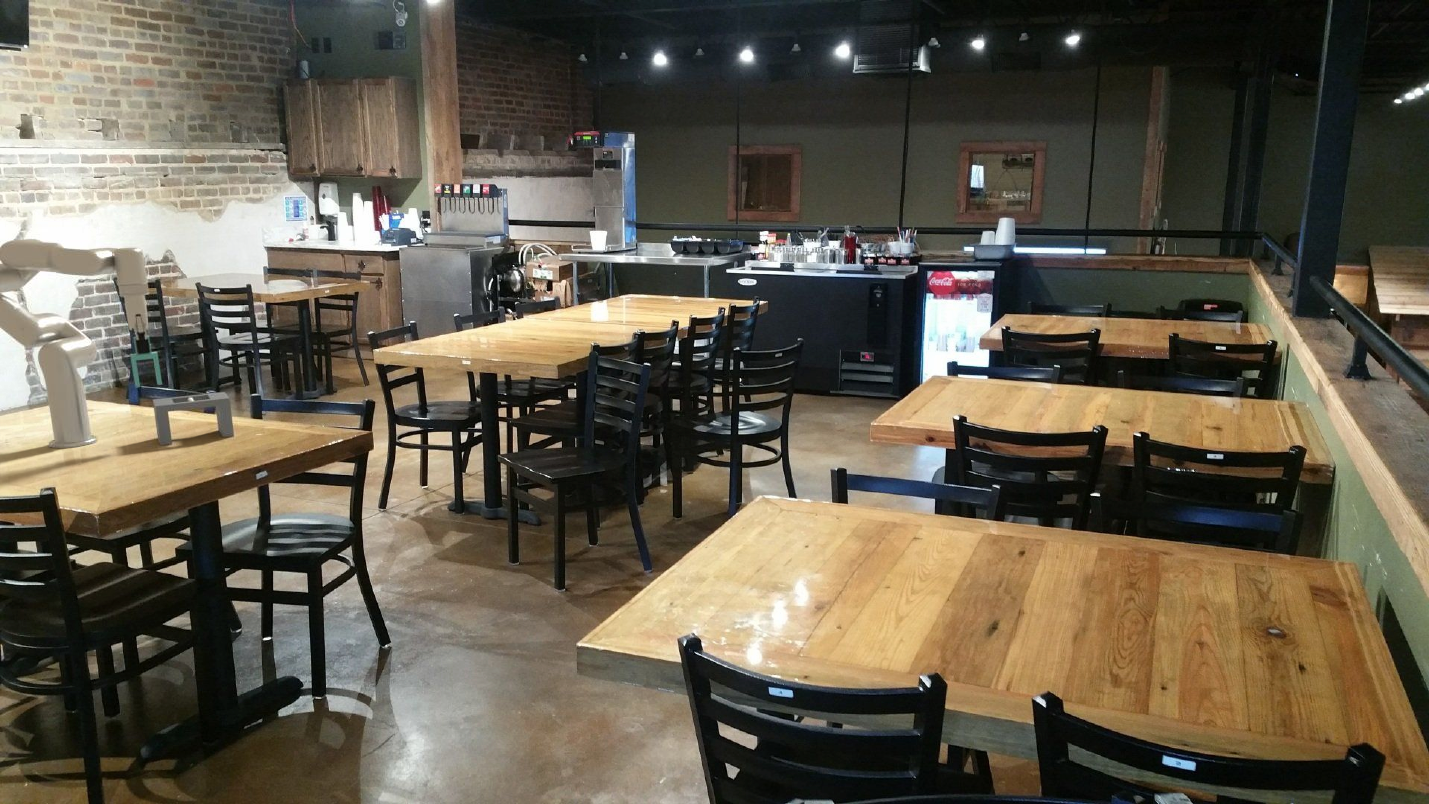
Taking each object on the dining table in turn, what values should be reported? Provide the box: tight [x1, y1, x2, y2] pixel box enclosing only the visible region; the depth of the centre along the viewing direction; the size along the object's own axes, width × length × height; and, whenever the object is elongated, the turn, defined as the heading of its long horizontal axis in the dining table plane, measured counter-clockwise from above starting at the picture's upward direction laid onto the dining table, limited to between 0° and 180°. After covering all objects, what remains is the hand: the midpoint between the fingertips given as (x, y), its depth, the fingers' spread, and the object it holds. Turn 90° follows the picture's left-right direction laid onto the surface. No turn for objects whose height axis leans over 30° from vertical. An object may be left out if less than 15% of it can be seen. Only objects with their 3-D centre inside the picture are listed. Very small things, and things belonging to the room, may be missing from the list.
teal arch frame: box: [129, 335, 163, 388], centre depth 304 cm, size 4×7×14 cm, turn 120°
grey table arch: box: [152, 391, 235, 446], centre depth 314 cm, size 12×20×12 cm, turn 122°
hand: (143, 351), depth 304 cm, fingers closed on teal arch frame, 3 cm apart
